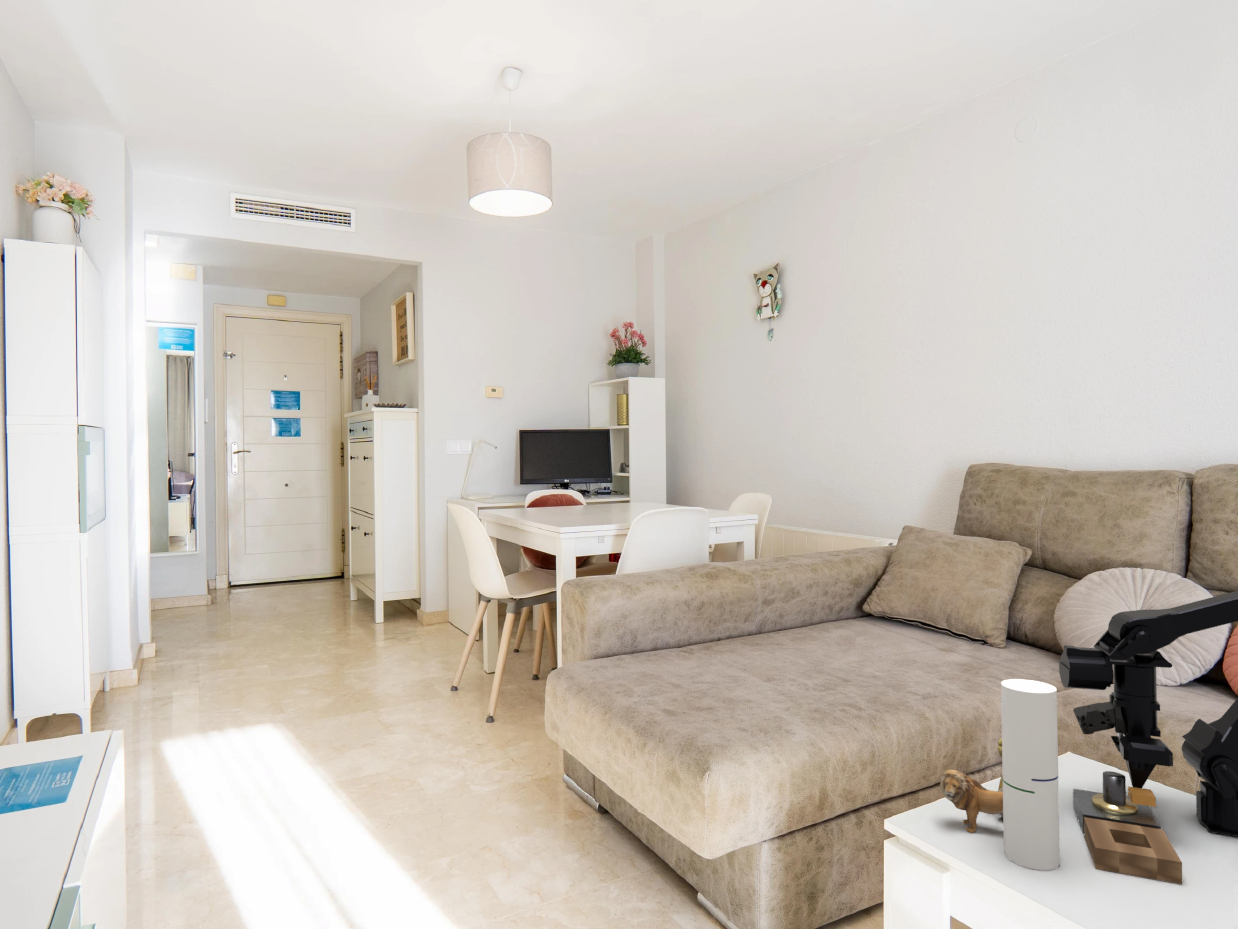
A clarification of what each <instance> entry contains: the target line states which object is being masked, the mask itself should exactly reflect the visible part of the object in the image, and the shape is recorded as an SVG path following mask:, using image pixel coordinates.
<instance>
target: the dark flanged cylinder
mask: <svg viewBox="0 0 1238 929" xmlns="http://www.w3.org/2000/svg"><path fill="white" fill-rule="evenodd" d="M1126 786H1127V785H1126V776H1125V775H1124V774H1122V773H1119V772H1116V771H1112V770H1111V771H1110V770H1108V771H1103V772H1102V791H1103V792H1102V793H1103V794H1096V795H1093V796H1092V803H1093V805H1094V806H1096V807H1097V808H1099V809H1101V810H1103V811H1106V812H1109V813H1113V814H1118V815H1134V814H1136V813H1137V812H1138V806H1137V804H1133V803H1132V802H1131V800H1129V799H1127V798H1126V797H1127V794H1126V793H1127V789H1126V788H1127V787H1126Z"/></svg>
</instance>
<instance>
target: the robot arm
mask: <svg viewBox="0 0 1238 929" xmlns="http://www.w3.org/2000/svg"><path fill="white" fill-rule="evenodd" d="M1110 618H1111V619H1110V621H1109V622H1108V627H1107V628H1108V629H1107V630H1105V632H1104V633H1103V634H1102V636H1100V637H1099V639H1098V640H1097V641H1096V642H1095V644H1094V645H1093V647H1079V646H1075V645H1066V644H1065V645H1063V648H1062V649H1063V652H1062V653H1061V656H1060V661H1058V671H1059V678H1060V682H1061V685H1062V686H1063V687H1064V688H1066V689H1082V690H1095V691H1096V690H1097V691H1105V690H1106V689H1107V688H1111V686H1112V685H1113V691H1111V693H1109V701H1105V702H1096V703H1090V704H1087V705H1082V706H1077V707H1074V708H1073V709H1072V710H1073V713H1074V716H1075V718H1076V721H1077V723H1078V725H1079V728H1080V729H1081V730H1080V731H1081V732H1082V734H1083V735H1093V734H1094V733H1096V732H1102V731H1107V730H1111V729H1114V731H1115V733H1116V735H1111V736H1110V739H1111V740H1112V743H1114V745H1115V747H1116V749H1117V752H1119V753H1120V755H1121V757H1122V759H1123V760H1125V764H1126V768H1127V771H1128V775H1129V778H1130V779H1129V780H1130V782H1131V787H1136V788H1143V787H1144V786H1145V784H1146V782H1147V780H1148V779H1149V777H1150V775H1151V774H1152V772H1153V771H1154V769H1155V767H1156V766H1163V767H1169V768H1170V767H1174V754H1173V752H1172V750H1171V749H1170V747H1169V746H1168V745H1167V744H1166V743H1165V742H1164V741H1163V740H1162V739H1160V738H1161V736H1162V735H1161V733H1162V732H1161V729H1160V728H1159V726H1158V711H1159V712H1160V711H1161V704H1160V703H1159V702H1158V699H1157V698H1158V694H1157V691H1158V690H1157V688H1158V687H1157V668H1165V669H1166V668H1168V669H1171V668H1172V667H1173V663H1172V662H1169V661H1168V660H1167V659H1166V658H1165V657H1164V656H1163V654H1162V653H1161V652H1160V651H1158V650H1160V649H1162V648H1165V647H1167V646H1170V645H1171V644H1172V643H1173V642H1175V641H1176V640H1178V639H1179V638H1181V637H1183V636H1185V635H1188V634H1193V633H1196V632H1201V631H1204V630H1205V631H1206V630H1207V629H1212V628H1216V627H1220V626H1223V625H1229V624H1232V623H1235V622H1238V590H1236V591H1232V592H1229V593H1223V594H1220V595H1215V596H1212V597H1208V598H1205V599H1200V600H1197V601H1193V602H1190V603H1189V602H1188V603H1185V604H1182V605H1177V606H1175V607H1170V608H1169V607H1168V608H1162V609H1161V608H1160V609H1137V610H1129V611H1128V610H1126V611H1120V612H1117V613H1116V614H1114V615H1112V616H1111V617H1110ZM1154 737H1155V738H1154ZM1156 737H1157V738H1156ZM1181 738H1183V739H1184V741H1183V743H1182V745H1181V752H1182V756H1183V759H1184V760H1185V762H1186V763H1188V764H1189V765H1190V767H1192V768H1193V769H1194V770H1195V772H1196V775H1197V776H1198V777H1199V778H1201V779H1202V780H1200V781H1199V783H1200V784H1199V787H1200V788H1199V790H1196V791H1195V793H1196V794H1195V799H1196V800H1195V801H1196V802H1195V804H1196V817H1197V818H1198V820H1200V822H1201V824H1203V826H1204V827H1205V828H1206V830H1207V831H1208V832H1210V833H1212V834H1213V833H1214V834H1220V835H1225V836H1226V835H1227V836H1232V837H1233V836H1234V837H1238V697H1237V698H1236V699H1235V700H1234V702H1233V703H1232V704H1231V705H1230V706H1229V708H1228V709H1227V710H1226V711H1225V713H1224V714H1223V715H1222V716H1221V717H1220V718H1219V719H1216V720H1214V721H1212V722H1211V721H1210V722H1209V723H1207V722H1206V721H1204V720H1203V719H1201V718H1198V719H1197V720H1196V721H1195V722H1194V724H1193V726H1192V728H1190V730H1189V731H1188V732H1187V733H1185V734H1183V735H1182V736H1181Z"/></svg>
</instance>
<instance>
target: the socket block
mask: <svg viewBox="0 0 1238 929" xmlns="http://www.w3.org/2000/svg"><path fill="white" fill-rule="evenodd" d="M1072 792H1073V793H1072V794H1073V795H1072V796H1073V797H1072V798H1073V806H1074V807H1073V810H1074V809H1075V810H1074V811H1075V812H1074V813H1075V815H1076V818H1077V820H1079V821H1078V823H1079V826H1080V828H1081V829H1080V830H1081V831H1082V834H1083V835H1084V817H1087V818H1093V819H1099V820H1106V821H1112V822H1118V823H1125V824H1131V825H1137V826H1144V827H1150V828H1156V829H1162V826H1161V824H1160V822H1159V821H1158V819H1157V817H1156V815H1155V814H1154V812H1153V810H1152V809H1151V806H1146V805H1139V804H1137V806H1138V812H1137V813H1136V814H1134V815H1118V814H1113V813H1109V812H1106V811H1103V810H1101V809H1099V808H1097V807H1096V806H1094V805H1093V803H1092V796H1093V795H1096V794H1103V792H1098V791H1090V790H1083V789H1076V788H1072ZM1126 798H1127V799H1129V800H1130V798H1129V796H1126Z"/></svg>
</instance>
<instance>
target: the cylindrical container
mask: <svg viewBox="0 0 1238 929" xmlns="http://www.w3.org/2000/svg"><path fill="white" fill-rule="evenodd" d="M1057 691H1058V690H1057V687H1056V686H1054V685H1053V684H1050V683H1047V682H1043V681H1039V680H1032V679H1023V678H1010V679H1009V678H1008V679H1004V680H1001V681H1000V699H1001V701H1000V702H1001V703H1000V704H1001V737H1002V758H1001V760H1002V761H1001V762H1002V763H1001V764H1002V766H1001V767H1002V774H1003V817H1002V819H1003V820H1002V821H1003V823H1002V825H1003V827H1002V828H1003V854H1004V856H1005V857H1006V858H1007V859H1008V860H1009V861H1011V862H1013V863H1014V864H1017V865H1018V866H1021V867H1024V868H1027V869H1031V870H1035V871H1036V870H1037V871H1052V870H1055V869H1057V868H1059V867H1060V865H1061V861H1060V860H1061V859H1060V858H1061V857H1060V854H1061V853H1060V852H1061V850H1060V811H1059V810H1060V808H1059V807H1060V804H1059V803H1060V802H1059V800H1060V798H1059V795H1060V794H1059V752H1058V751H1059V750H1058V746H1059V743H1058V742H1059V741H1058V740H1059V739H1058V694H1057V693H1058V692H1057Z"/></svg>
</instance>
